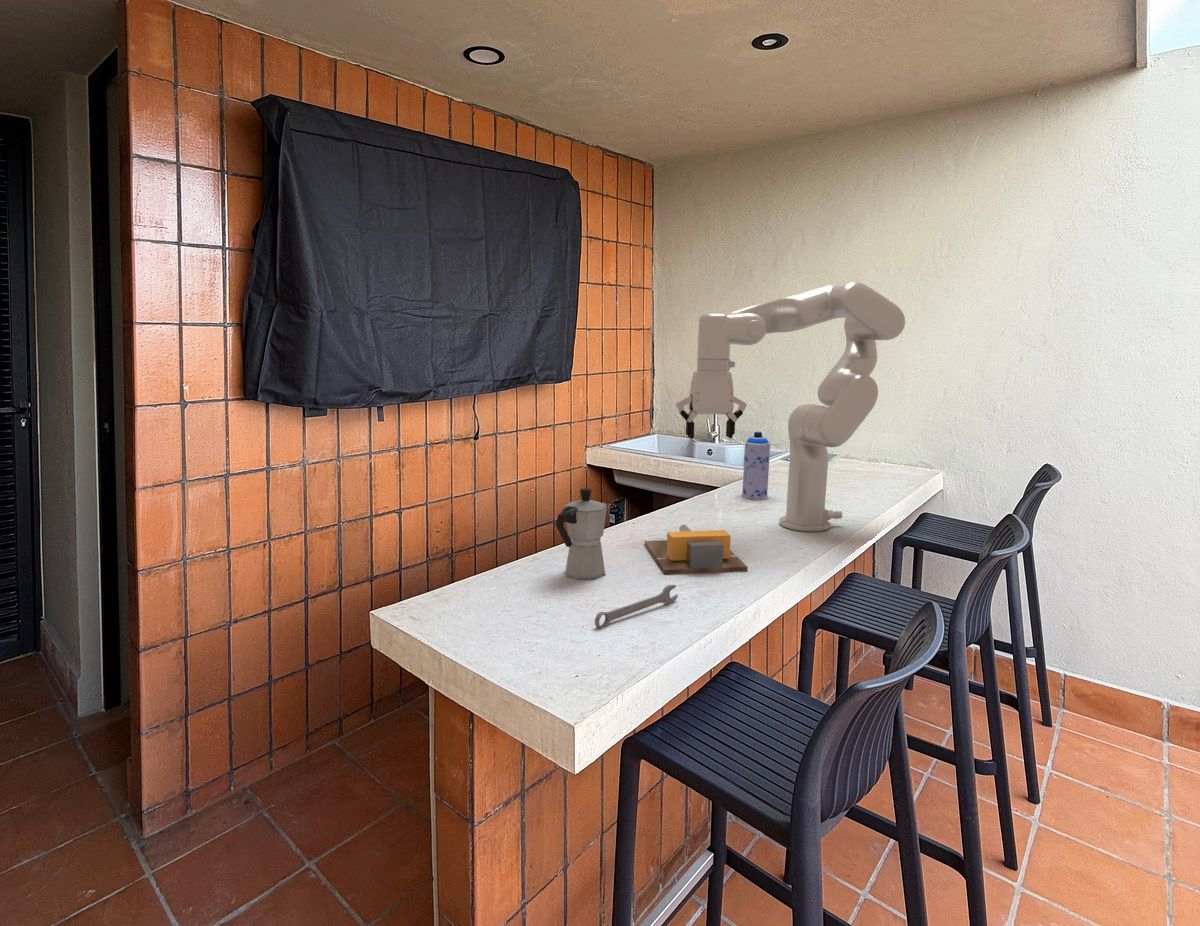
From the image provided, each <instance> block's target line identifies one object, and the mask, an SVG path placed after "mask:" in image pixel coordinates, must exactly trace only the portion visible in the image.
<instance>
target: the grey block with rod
mask: <svg viewBox="0 0 1200 926" xmlns="http://www.w3.org/2000/svg"><path fill="white" fill-rule="evenodd" d="M678 530H679V532H680V531H692V530H691V529H690V528H689V527H688V526H687V525H686V524H681V525H680V526H679V528H678ZM723 547H724V545H723V544H722V543H721V542H720V541H689V542H687V560H686V564H687V566H688V567H689V568H690V569H700V568H723Z"/></svg>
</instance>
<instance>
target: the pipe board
mask: <svg viewBox="0 0 1200 926" xmlns="http://www.w3.org/2000/svg"><path fill="white" fill-rule="evenodd" d="M644 546H645V548H646V549H647V551H648V552H649V554H650V556H651V557H652V558H653V560H654V562H655V563H656V565H658V568H659V569H660V570H661V572H662V573H663V575H684V574H685V575H687V574H708V573H709V574H710V573H711V574H713V573H733V572H734V571H740V572H748V568H749V567H748V566H747V565H746V564H745V562H743V561H742V559H740V558H739V556H737V555H736V554H735V553H734V552H733V551H732V550H731V549H730V559H723V568H700V569H690V568H689V567H688V566H687V564H686V560H675V561H671V560H670V559H669V557H668V556H667V539H666V540H665V539H664V540H644Z"/></svg>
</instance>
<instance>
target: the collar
mask: <svg viewBox="0 0 1200 926" xmlns="http://www.w3.org/2000/svg"><path fill="white" fill-rule="evenodd" d="M666 534H667V535H666V538H667V539H666V540H667V556H668V557H669V559H670V560H671V561H675V560H687V542H689V541H720V542H721V543H722V544H723V545H724V547H723V559H730V550H731V540H732V539H731V538H732V537H731V536H732V535H731V534H730V533H728V531H727V530H726V529H723V530H722V529H719V530H691V531H680V530H679V531H667V532H666Z"/></svg>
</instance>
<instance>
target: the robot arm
mask: <svg viewBox="0 0 1200 926" xmlns="http://www.w3.org/2000/svg"><path fill="white" fill-rule="evenodd" d="M840 318H841V319H843V318H844V323H843V326H844V327H843V328H844V333H845V334H844V335H845V342H846V343H845V349H844V351H843V353H842V355H841V357H840V358H839V360H837V361H836V363H835V365H834V366H833V367H832V368H831V369H830V371H829V372H828V373H827V375H826V376H825V377H824V378H823V380H822V381H821V383H820V384H819V386H818V389H817V398H818V400H819V401H820V402H821V403H822V404H823V405H820V404H814V403H806V404H802V405H799V406H796V408H794V409H793V410H792V412H791V413H790V415H789V417H788V421H787V423H788V425H787V430H788V431H787V432H788V440H789V464H788V465H789V466H788V478H787V479H788V480H787V493H786V494H787V495H786V507H785V508H786V509H785V515H784V516H781V517H780V518H779V524H780V526H782V527H784V528H787V529H789V530H794V531H800V532H822V531H827V530H829V528H830V527H831V524H830V521H831V519H834V520H839V519H842V518H843V512H842V511H838V510H836V511H833V510H832V509H828V508H826V495H827V494H826V493H827V483H828V482H827V480H828V469H829V452H828V448H837V447H840V446H842V445H844V444H845V443H847V442H848V441H849V440H850V438H851V437H852V436H853V435H854V434H855V432H856V431H857V430H858V428H859V427H860V426H861V425H862V424H863V422H864V421H865V419H866V418H867V417H868V416H869V414H870V413H871V411H872V410H873V409H874V408H875V405H876V403H877V401H878V396H879V387H878V384H877V381H876V380H875V379H874V378H873V377H871V376H870V375H871V374H872V373H873V371H874V369H875V368H876V365H877V362H878V351H877V350H878V349H877V343H876V341H891V340H893V339H896V338H898V337H899V335H901V334H902V332H903V331H904V328H905V326H906V319H905V315H904V311H902V309H901V307H899V306H898V305H897V304H895V303H894V302H892V301H891V300H890V299H888V298H886V297H885V296H884V295H882V294H881V293H879V292H877V291H876V290H874V289H873V288H872V287H870V286H868V285H866V284H864V283H862V282H859V281H847V282H846V281H845V282H844V281H843V282H833V283H828V284H826V285H821V286H818V287H816V288H812V289H809V290H805V291H802V292H799V293H796V294H793V295H789V296H785V297H781V298H777V299H774V300H770V301H768V302H764V303H759V304H755V305H751V306H749V307H745V308H741V309H739V310H738V309H737V310H736V311H735V310H734V311H732V312H729V313H723V312H722V313H721V312H720V313H719V312H715V313H714V312H713V313H712V312H711V313H710V312H709V313H708V312H707V313H703V314H701V315H700V316H699V318H698V335H697V357H696V358H697V360H696V361H697V362H696V371H693V373H692V376H691V382H690V388H689V394H688V395H689V396H687V397H685V398H684V399H681V400H678V401H677V402H676V403H675V406H676V409H677V411H678V413H679V415H680V416H681V417H682V418H683V419H684V420H685V435H687V438H689V439H690V440H692V439H694V438H695V422H694V419H695V418H696V417H697V416H698V415H725V417H727V420H726V424H725V425H726V427H725V437H727V438H729V439H733V438H734V435H735V433H736V432H735V431H736V422H737V421H738V419H739V418H740V417H741V416H742V415H743V413H744V411H745V410H746V408H747V405H748V404H747V402H745V401H743V400H741V399H740V398H738V397H735V395H734V394H735V393H734V382H733V375H732V372H730V370H731V369H732V368H735V366H736V363H735V361H732V360H731V359H730V356H731V355H730V354H731V345H737V346H739V345H740V346H753V345H757V343H760V342H761V341H762V340H763V339H764V338H765V336H766V335H767V334H774V333H789V332H796V331H800V330H803V329H806V328H808V327H813V326H815V325H819V324H822V323H826V322H828V321H831V320H837V319H840ZM735 404H736V405H737V406H738V407H737V410H735V412H733V411H734V408H735V406H734V405H735ZM686 405H688V410H689V412H688V413H687V411H685V408H684V406H686Z"/></svg>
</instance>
